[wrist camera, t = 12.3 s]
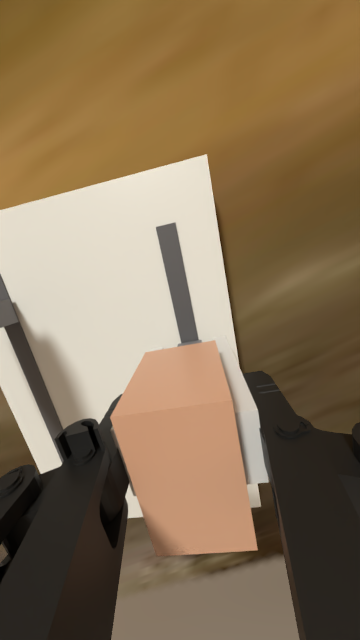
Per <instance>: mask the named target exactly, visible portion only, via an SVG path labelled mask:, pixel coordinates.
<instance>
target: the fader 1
mask: <svg viewBox="0 0 360 640" xmlns="http://www.w3.org/2000/svg"><path fill="white" fill-rule="evenodd" d="M17 322H19V321H18V319H17V316H16V314H15V311H14V309H13V306H12V304H11V302H10V299H7V300H2V301H0V328H2V327H5V326H8V325H11V324H14V323H17Z"/></svg>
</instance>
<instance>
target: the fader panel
mask: <svg viewBox="0 0 360 640" xmlns="http://www.w3.org/2000/svg"><path fill="white" fill-rule="evenodd" d="M7 299H10V302H11V304H12V306H13V309H14V311H15V314H16V316H17V319H18V321H19V322H17V323H14V324H11V325H8V326H5V327H2V328H0V386H1V388H2V391H3V393H4V395H5V397H6V399H7V401H8V404H9V406H10V408H11V410H12V412H13V414H14V417H15V419H16V421H17V423H18V425H19V427H20V430H21V432H22V434H23V436H24V438H25V440H26V443H27V445H28V447H29V449H30V451H31V453H32V456H33V458H34V460H35V462H36V464H37V466H38V469H39V471H40V473H41V474H42V473H45V472H47V471H50V470H53V469H55V468H58V467H60V466H61V465H62V463H63V461H64V460H63V458H62V456H61V453H60V451H59V449H58V447H57V444H56V442H55V440H54V439H55V438H56V436H57V435H58V434H59V433H60V432H61V431H62V430H63V429H65V428H66V427H67V426H69V425H71V424H73V423H74V422H76V421H79V420H82V419H88V418H92V419H96V421H97V422H98V424H100V422H101V421H102V419H103V418H104V415H105V414H106V412H107V411H108V409H109V407H110V405H111V404H112V402H113V401H114V400H115V399H116V398H117V397H118V396H119V395H120V394H123V393H124V391H125V389H126V387H127V385H128V383H129V382H130V380H131V378H132V376H133V374H134V372H135V370H136V369H137V367H138V365H139V363H140V361H141V359H142V358H143V356H144V354H145V352H150V350H151V349H154V348H160V347H163V348H164V349H167V348H173V347H177V346H178V344H180V343H186V342H191V341H197V340H202V342H208V341H213V338H215V337H220V336H226V338H227V340H228V342H229V345H230V347H231V349H232V352H233V354H234V356H235V358H236V361H237V363H238V365H239V360H238V354H237V347H236V341H235V334H234V328H233V322H232V315H231V309H230V302H229V296H228V289H227V283H226V276H225V270H224V263H223V257H222V250H221V244H220V237H219V231H218V224H217V218H216V211H215V205H214V199H213V192H212V186H211V179H210V173H209V166H208V160H207V154H206V155H203V156H199V157H195V158H191V159H188V160H184V161H180V162H177V163H173V164H169V165H166V166H162V167H158V168H155V169H151V170H147V171H144V172H140V173H136V174H133V175H129V176H125V177H122V178H118V179H114V180H110V181H107V182H103V183H99V184H96V185H92V186H88V187H85V188H81V189H77V190H74V191H70V192H66V193H63V194H59V195H55V196H52V197H48V198H44V199H41V200H37V201H33V202H29V203H26V204H22V205H18V206H15V207H11V208H7V209H4V210H0V301H2V300H7ZM239 368H240V367H239ZM247 490H248V496H249V502H250V508H253V507H261V503H260V496H259V490H258V483H257V484H247ZM125 498H126V501H127V504H128V518H135V517H143V514H142V511H141V508H140V505H139V502H138V499H137V496H133V493H132V490H131V488H130V485H129V486H128V489H127V493H126V496H125Z"/></svg>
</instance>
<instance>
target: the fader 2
mask: <svg viewBox="0 0 360 640" xmlns="http://www.w3.org/2000/svg"><path fill="white" fill-rule="evenodd" d="M110 419H111V422H112V425H113V428H114V431H115V434H116V437H117V440H118V443H119V446H120V448H121V451H122V454H123V457H124V460H125V463H126V466H127V469H128V472H129V475H130V478H131V481H132V484H133V487H134V490H135V493H136V496H137V499H138V502H139V505H140V508H141V511H142V514H143V517H144V520H145V523H146V526H147V529H148V532H149V535H150V538H151V541H152V544H153V547H154V550H155V553H156V556H173V555H189V554H205V553H221V552H237V551H253V550H258V549H257V543H256V537H255V531H254V525H253V519H252V513H251V508H250V502H249V496H248V490H247V484H246V478H245V472H244V467H243V461H242V455H241V449H240V443H239V437H238V431H237V426H236V420H235V414H234V408H233V402H232V398H231V394H230V391H229V387H228V384H227V380H226V377H225V373H224V369H223V366H222V362H221V359H220V355H219V352H218V348H217V345H216V341H215V340H213V341H208V342H202V340H197V341H191V342H186V343H180V344H178V346H177V347H173V348H167V349H162V350H156V351H150V352H145V354H144V356H143V358H142V359H141V361H140V363H139V365H138V367H137V369H136V370H135V372H134V374H133V376H132V378H131V380H130V382H129V383H128V385H127V387H126V389H125V391H124V393H123V394H122V396H121V398H120V400H119V402H118V404H117V405H116V407H115V409H114V411H113V413H112V415H111V416H110Z"/></svg>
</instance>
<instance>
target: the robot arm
mask: <svg viewBox="0 0 360 640" xmlns="http://www.w3.org/2000/svg"><path fill="white" fill-rule="evenodd" d="M213 340H215V341H216V345H217V348H218V352H219V355H220V359H221V362H222V366H223V369H224V373H225V377H226V380H227V384H228V387H229V391H230V394H231V398H232V402H233V408H234V414H235V420H236V426H237V431H238V437H239V443H240V449H241V455H242V461H243V467H244V472H245V478H246V484H257V483H267V482H269V481H268V477H269V479H270V482H271V485H272V492H273V499H274V506H275V513H276V518H277V520H278V526H279V531H280V537H281V542H282V547H283V553H284V558H285V563H286V568H287V574H288V579H289V585H290V590H291V595H292V600H293V606H294V611H295V617H296V622H297V628H298V633H299V638H300V640H360V422H359V423H357V424H355V426H354V427H353V429H352V435H351V434H343V433H334V432H327V431H322V430H319V429H316V428H314V427H313V426H312V425H311V423H310V422H309V421H307V420H306V419H304V418H303V417H301V416H298V415H296V413H295V412H294V410H293V409H292V408H291V406H290V405H289V403H288V402H287V400H286V399H285V397H284V396H283V394H282V393H281V391H279V388H278V387H277V385H275V382H274V381H273V379H272V378H271V377H270V376H269V375H268V374H266V373H264V372H263V371H257V372H251V373H245V374H242V372H241V370H240V368H239V365H238V363H237V361H236V358H235V356H234V354H233V352H232V349H231V347H230V345H229V342H228V340H227V338H226V336H220V337H215V338H213ZM162 349H164V348H163V347H160V348H154V349H151V350H150V351H156V350H162ZM121 396H122V394H120V395H119V396H118V397H117V398H116V399H115V400H114V401H113V402H112V404H111V405H110V407H109V409H108V411H107V412H106V414H105V415H104V418H103V419H102V421H101V422H100V424H98V422H97V421H96V419H92V418H88V419H82V420H79V421H76V422H74V423H73V424H71V425H69V426H67V427H66V428H65V429H63V430H62V431H61V432H60V433H59V434H58V435H57V436H56V438H55V439H54V440H55V442H56V444H57V447H58V449H59V451H60V453H61V456H62V458H63V460H64V461H63V463H62V465H61V466H60V467H58V468H55V469H53V470H50V471H47V472H45V473H42V474H40V475H38V473H37V471H36V469H35V467H34V466H33V465H29V464H28V465H24V466H20V467H18V468H15V469H13V470H11V471H10V472H8V473H7V474H5V475H4V476H2V477H1V478H0V545H1V543H2V545H3V546H4V548H5V550H6V552H7V553H8V555H7V556H6V557H5V559H4V560H3V561H2V562H1V563H0V640H111V635H112V628H113V621H114V613H115V606H116V599H117V591H118V584H119V577H120V569H121V562H122V554H123V547H124V540H125V532H126V525H127V518H128V504H127V501H126V498H125V496H126V493H127V489H128V486H129V485H130V488H131V490H132V493H133V496H136V493H135V490H134V487H133V484H132V481H131V478H130V475H129V472H128V469H127V466H126V463H125V460H124V457H123V454H122V451H121V448H120V446H119V443H118V440H117V437H116V434H115V431H114V428H113V425H112V422H111V419H110V416H111V415H112V413H113V411H114V409H115V407H116V405H117V404H118V402H119V400H120V398H121ZM267 474H268V475H267Z"/></svg>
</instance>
